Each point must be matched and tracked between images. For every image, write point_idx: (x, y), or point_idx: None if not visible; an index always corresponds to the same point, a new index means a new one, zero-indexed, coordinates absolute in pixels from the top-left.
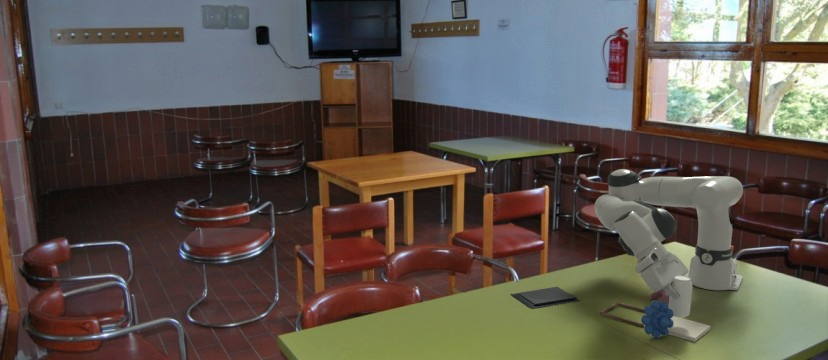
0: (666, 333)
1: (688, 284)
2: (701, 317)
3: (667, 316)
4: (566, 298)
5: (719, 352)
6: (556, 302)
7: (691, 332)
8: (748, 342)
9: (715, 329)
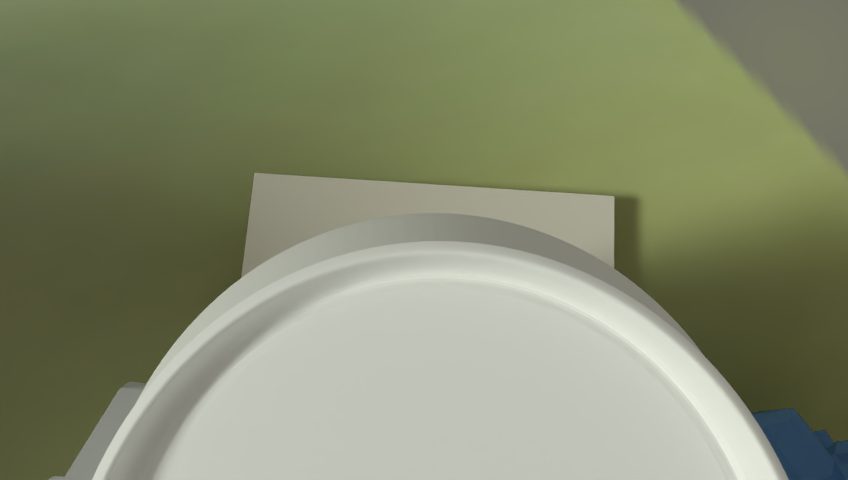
0: None
1: (581, 264)
2: (13, 329)
3: (841, 464)
4: None
5: (664, 10)
6: None
7: None
8: None
9: (233, 152)
